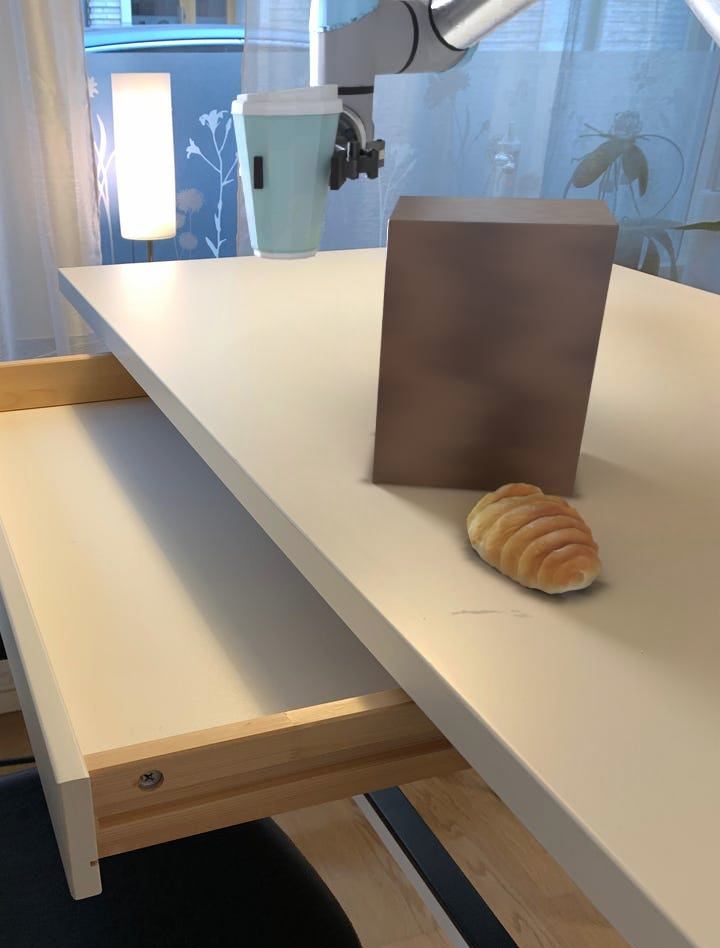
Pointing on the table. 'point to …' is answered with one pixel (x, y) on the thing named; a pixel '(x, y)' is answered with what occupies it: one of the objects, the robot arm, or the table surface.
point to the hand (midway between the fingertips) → (296, 173)
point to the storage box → (490, 340)
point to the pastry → (534, 539)
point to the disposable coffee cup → (287, 166)
